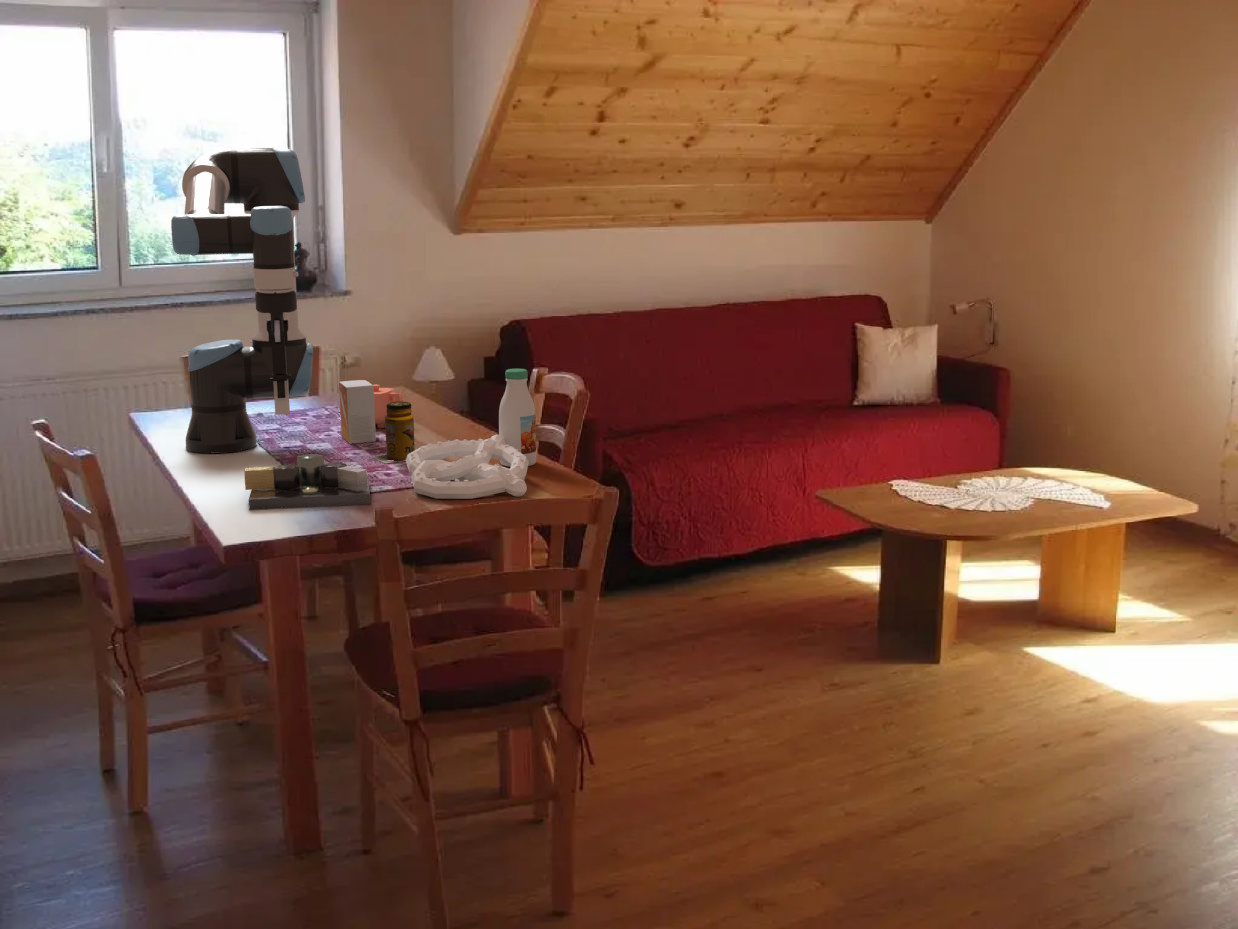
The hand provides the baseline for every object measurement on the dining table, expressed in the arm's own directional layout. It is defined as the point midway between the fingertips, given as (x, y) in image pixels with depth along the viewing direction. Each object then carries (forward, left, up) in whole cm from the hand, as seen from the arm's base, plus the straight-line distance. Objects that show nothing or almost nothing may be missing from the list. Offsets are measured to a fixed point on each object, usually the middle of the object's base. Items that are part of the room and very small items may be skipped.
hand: (282, 413), depth 268 cm
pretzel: (0, +35, -16) cm, 39 cm away
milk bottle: (-16, +47, -16) cm, 52 cm away
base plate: (+5, +5, -16) cm, 17 cm away
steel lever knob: (+6, +11, -13) cm, 18 cm away
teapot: (-64, +18, -16) cm, 68 cm away
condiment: (-26, +22, -16) cm, 37 cm away
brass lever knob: (+5, -2, -13) cm, 14 cm away
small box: (-47, +14, -16) cm, 51 cm away
